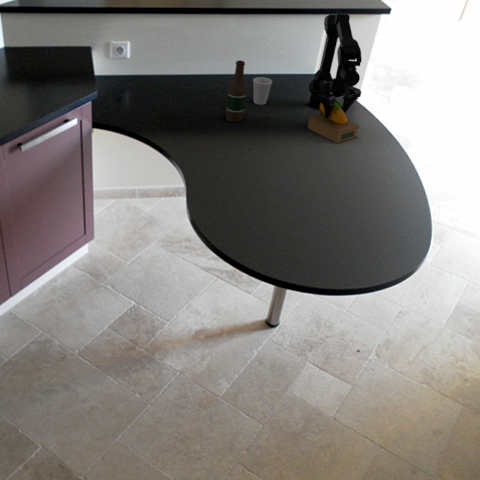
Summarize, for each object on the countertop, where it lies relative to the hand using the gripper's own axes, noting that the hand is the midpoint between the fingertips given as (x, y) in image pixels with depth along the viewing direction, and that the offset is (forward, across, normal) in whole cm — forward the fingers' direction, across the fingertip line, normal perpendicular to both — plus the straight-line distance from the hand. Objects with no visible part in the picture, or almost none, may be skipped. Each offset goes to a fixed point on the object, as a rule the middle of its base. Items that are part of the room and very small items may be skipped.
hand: (335, 116), depth 234 cm
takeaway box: (+7, 0, 0) cm, 7 cm away
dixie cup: (+7, +4, -39) cm, 40 cm away
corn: (+2, 0, 0) cm, 2 cm away
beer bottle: (+7, +26, -30) cm, 40 cm away
